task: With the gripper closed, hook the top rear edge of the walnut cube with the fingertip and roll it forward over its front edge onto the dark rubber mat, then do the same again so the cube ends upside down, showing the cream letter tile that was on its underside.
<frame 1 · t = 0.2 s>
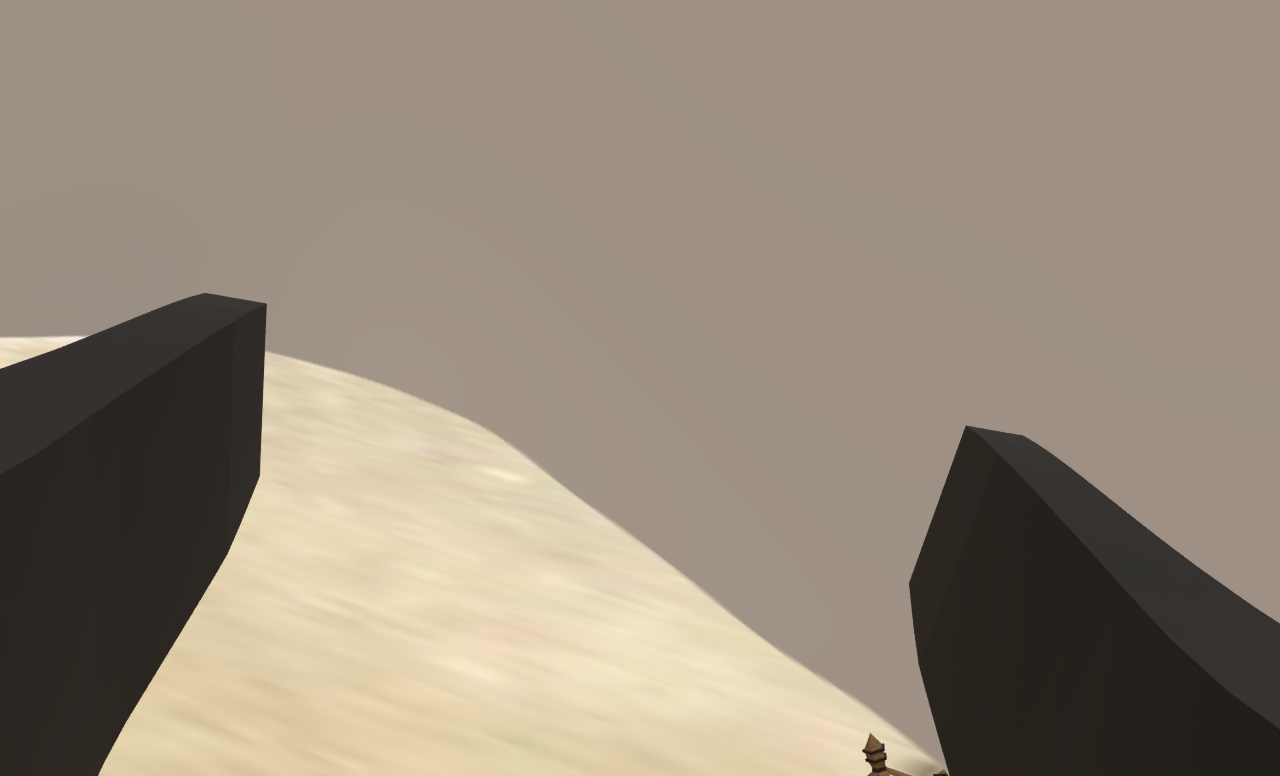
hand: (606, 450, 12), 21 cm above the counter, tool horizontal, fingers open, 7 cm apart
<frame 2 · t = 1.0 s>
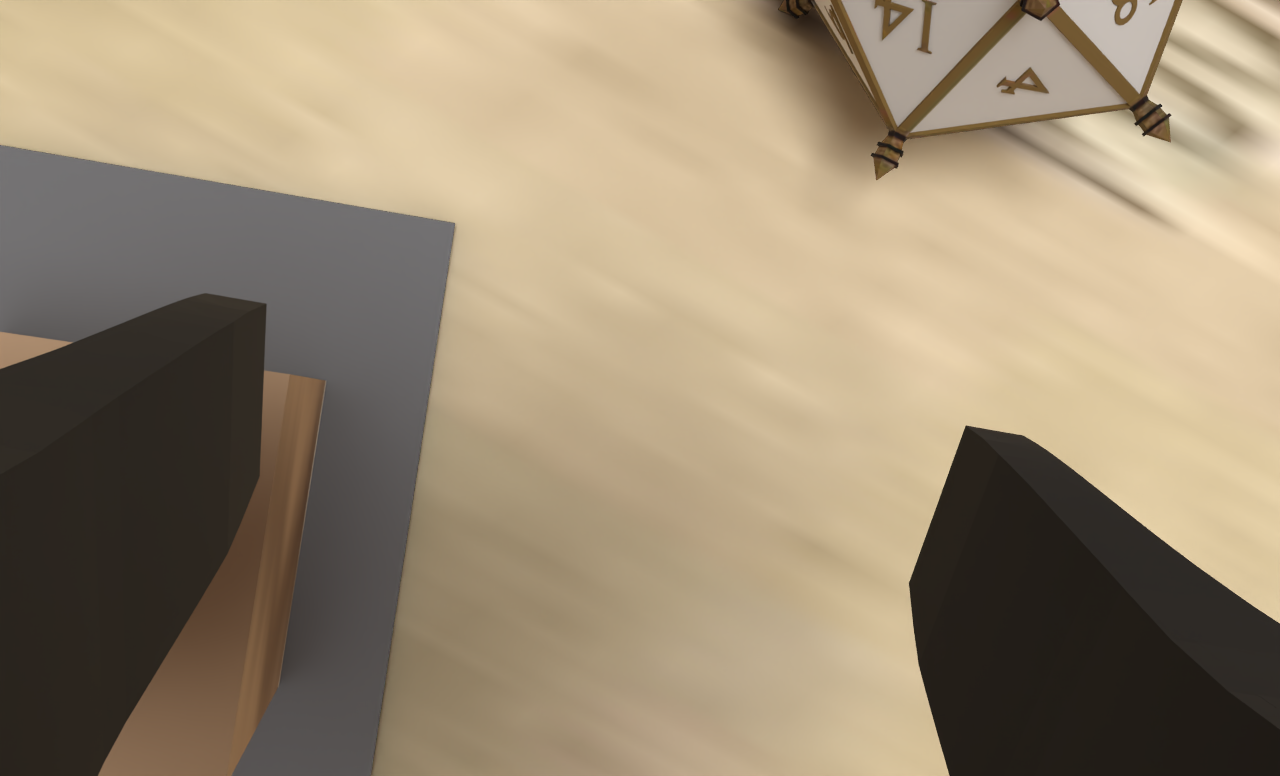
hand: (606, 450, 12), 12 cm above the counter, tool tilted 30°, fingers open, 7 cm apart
game die: (908, 6, 26), on the counter
letter cube: (142, 512, 23), resting on mat
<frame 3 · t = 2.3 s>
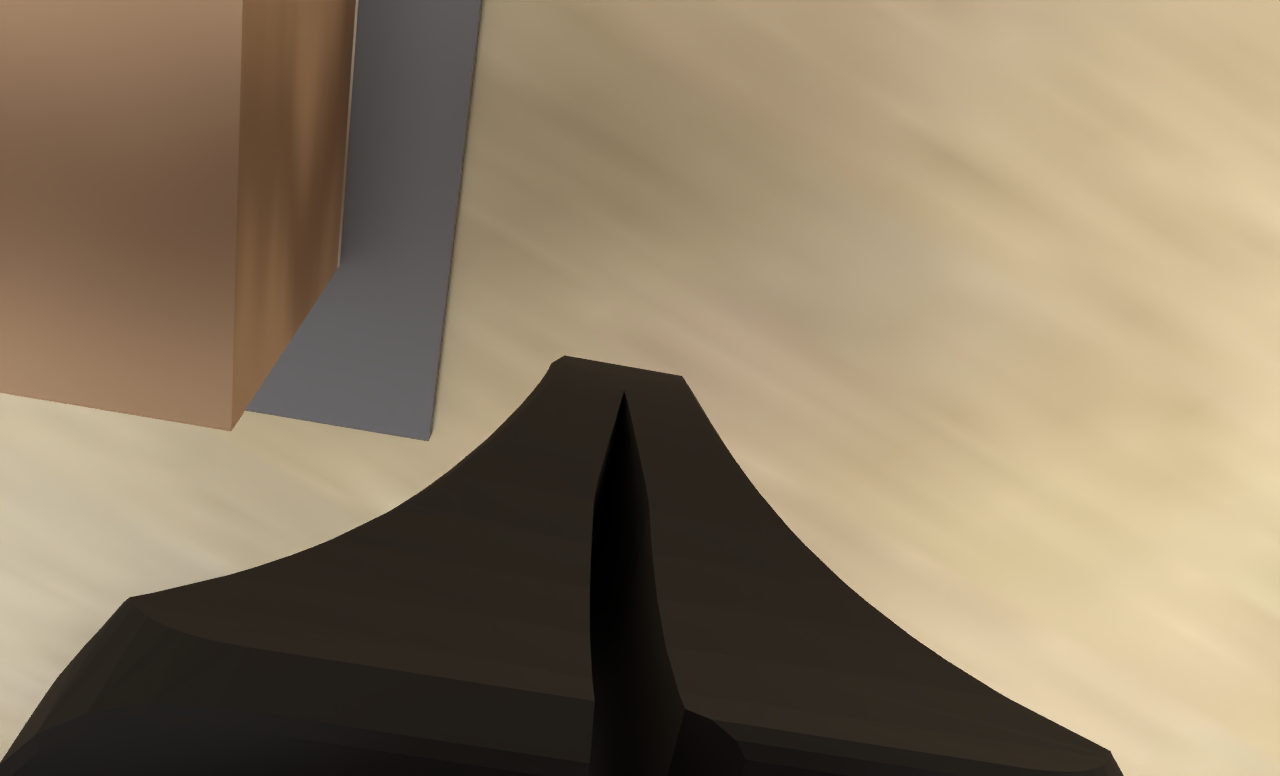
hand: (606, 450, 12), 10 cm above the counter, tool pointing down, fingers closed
letter cube: (177, 75, 21), resting on mat
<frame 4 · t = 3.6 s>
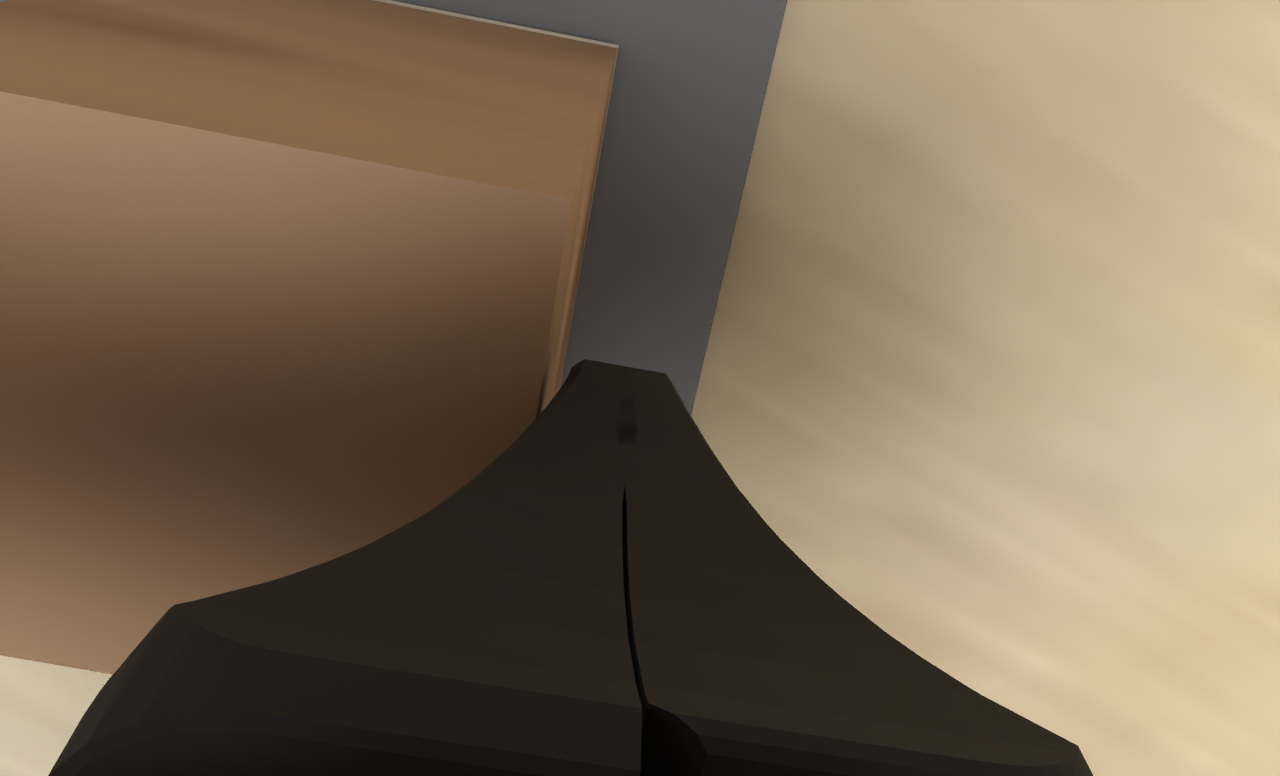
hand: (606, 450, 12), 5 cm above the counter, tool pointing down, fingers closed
letter cube: (368, 220, 17), resting on mat, touching gripper
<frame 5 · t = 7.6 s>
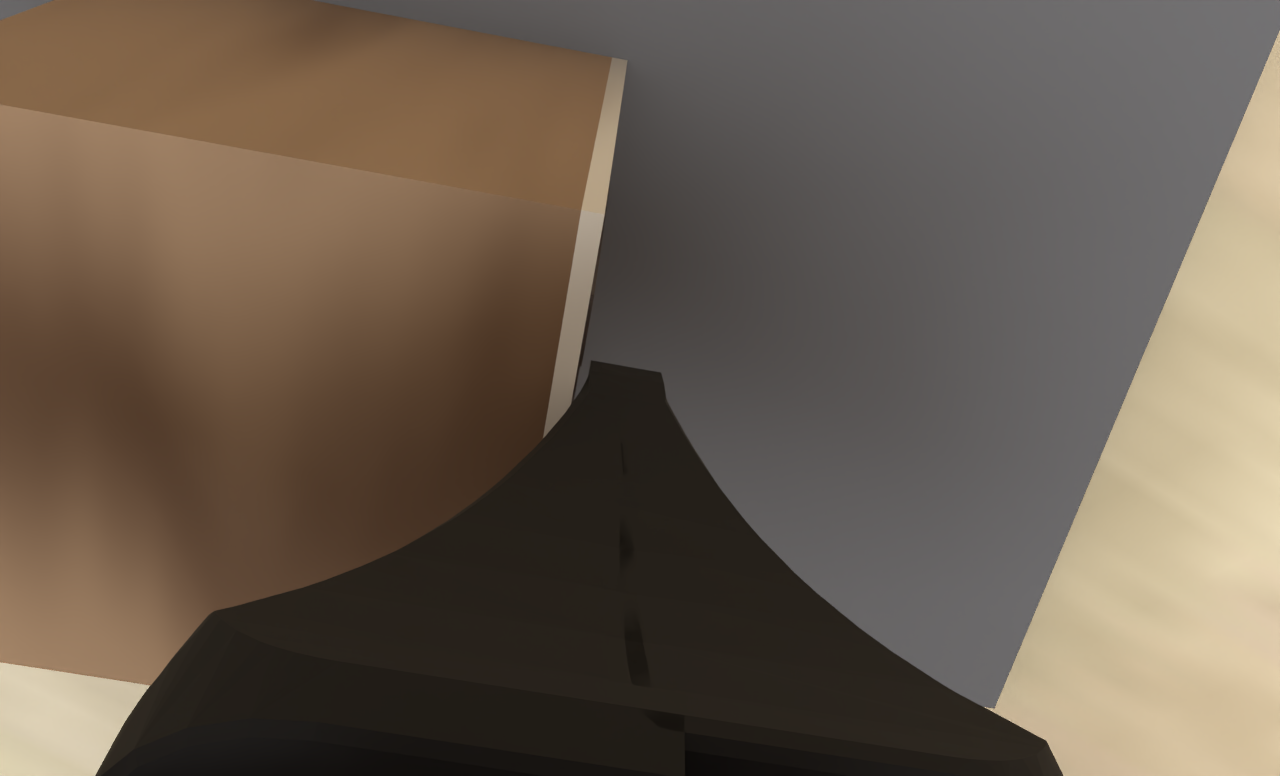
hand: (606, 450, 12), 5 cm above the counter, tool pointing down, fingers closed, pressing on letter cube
letter cube: (574, 369, 14), point 3 cm above the counter, tilted 90°, touching gripper, mat
mat: (345, 221, 17), on the counter
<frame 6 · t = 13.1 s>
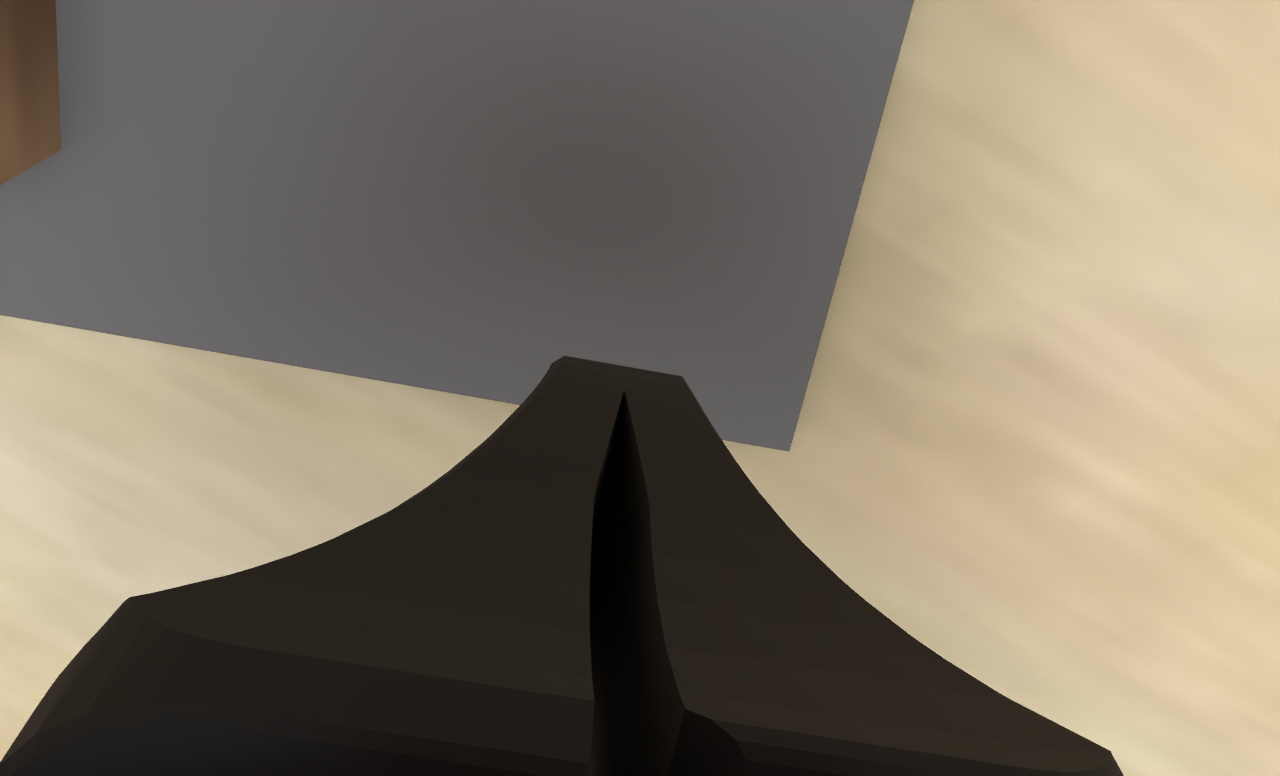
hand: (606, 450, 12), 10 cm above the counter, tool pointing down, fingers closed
mat: (222, 5, 20), on the counter
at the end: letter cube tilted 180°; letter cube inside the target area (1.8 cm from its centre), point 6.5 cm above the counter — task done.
